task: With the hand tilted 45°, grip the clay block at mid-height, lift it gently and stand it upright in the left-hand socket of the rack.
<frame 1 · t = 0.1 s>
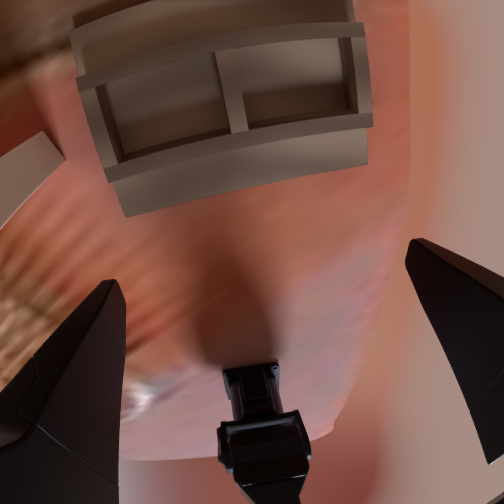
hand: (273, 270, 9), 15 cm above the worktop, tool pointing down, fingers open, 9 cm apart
rack: (227, 86, 19), on the worktop
clay block: (34, 166, 19), on the worktop
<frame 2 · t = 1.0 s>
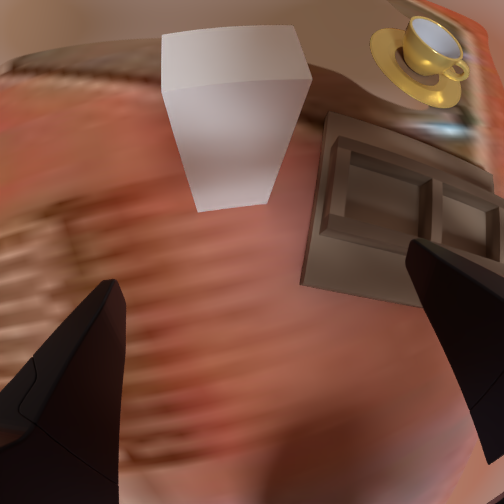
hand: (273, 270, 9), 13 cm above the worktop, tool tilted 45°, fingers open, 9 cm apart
rack: (416, 220, 24), on the worktop
cup: (416, 67, 28), on the worktop
clay block: (229, 188, 23), on the worktop
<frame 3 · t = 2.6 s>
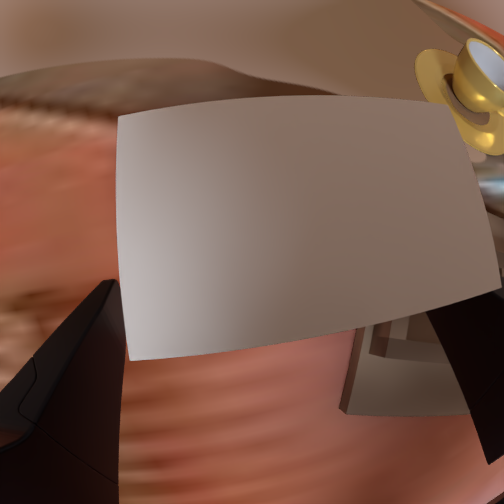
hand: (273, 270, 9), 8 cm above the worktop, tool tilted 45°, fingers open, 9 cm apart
rack: (473, 311, 18), on the worktop
cup: (465, 100, 22), on the worktop
clay block: (252, 288, 17), on the worktop
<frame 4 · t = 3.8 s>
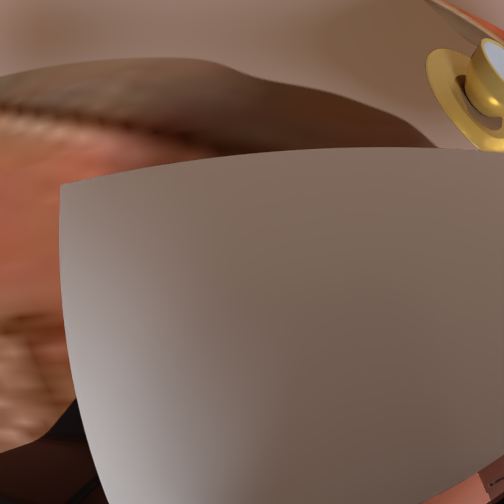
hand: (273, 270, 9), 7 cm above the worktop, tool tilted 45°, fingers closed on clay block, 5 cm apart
cup: (477, 103, 20), on the worktop
clay block: (258, 315, 16), on the worktop, touching gripper
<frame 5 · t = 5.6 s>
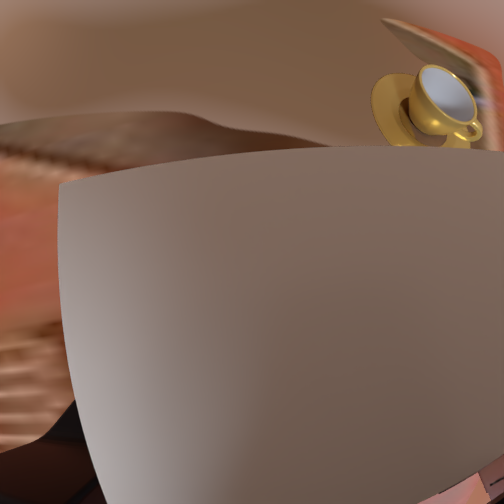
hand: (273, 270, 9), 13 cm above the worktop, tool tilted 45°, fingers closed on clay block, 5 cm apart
cup: (422, 123, 27), on the worktop
clay block: (258, 315, 16), point 6 cm above the worktop, touching gripper
when the fingers open (10 cm above the worktop, at t = 7.8 s): clay block drops 1 cm, resting on rack.
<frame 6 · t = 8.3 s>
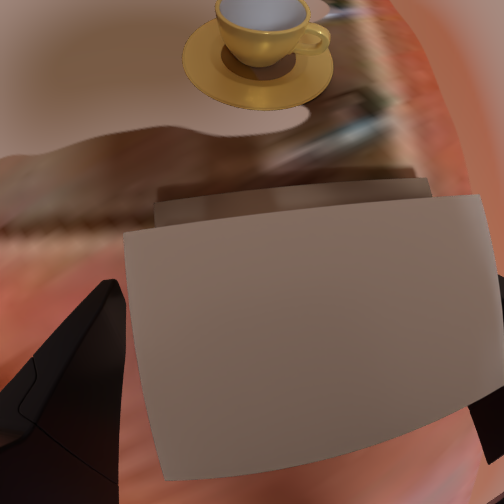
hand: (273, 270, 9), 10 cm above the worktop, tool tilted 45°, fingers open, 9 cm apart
rack: (321, 303, 19), on the worktop
cup: (258, 57, 22), on the worktop
clay block: (257, 315, 17), point 1 cm above the worktop, touching rack
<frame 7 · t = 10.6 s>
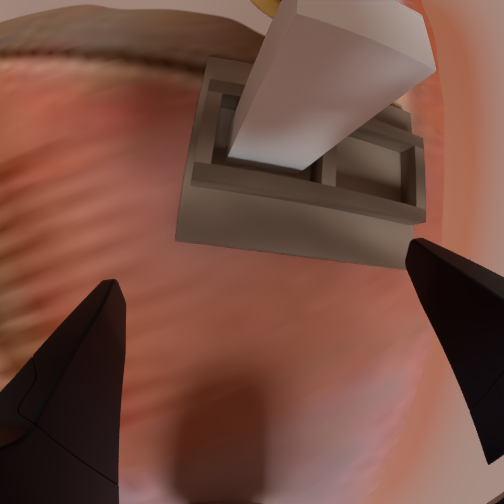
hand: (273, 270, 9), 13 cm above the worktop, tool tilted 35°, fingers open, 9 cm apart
rack: (311, 163, 23), on the worktop
clay block: (264, 147, 21), point 1 cm above the worktop, touching rack
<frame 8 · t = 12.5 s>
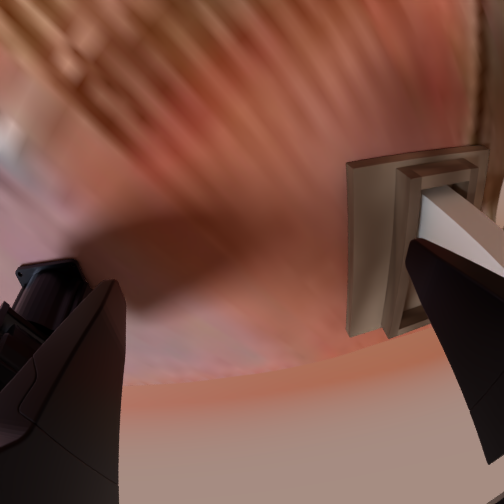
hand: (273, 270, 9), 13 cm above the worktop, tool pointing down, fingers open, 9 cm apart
rack: (415, 244, 27), on the worktop
clay block: (427, 212, 24), point 1 cm above the worktop, touching rack
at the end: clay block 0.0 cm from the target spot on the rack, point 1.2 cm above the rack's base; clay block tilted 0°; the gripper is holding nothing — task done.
